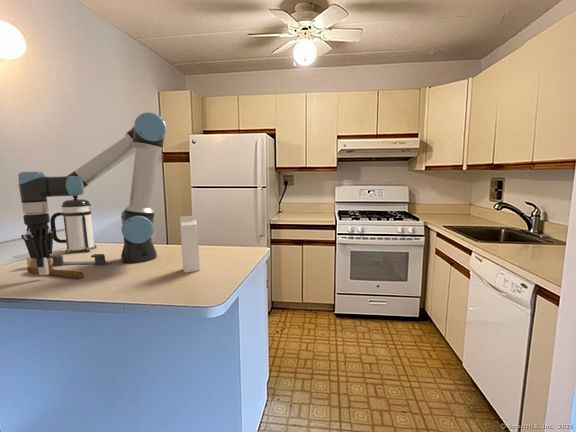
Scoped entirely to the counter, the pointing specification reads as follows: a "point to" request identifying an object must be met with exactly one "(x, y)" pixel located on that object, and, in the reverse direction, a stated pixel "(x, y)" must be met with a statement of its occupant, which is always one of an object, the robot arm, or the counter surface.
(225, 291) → the counter surface
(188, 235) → the milk
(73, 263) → the board
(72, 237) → the coffee press
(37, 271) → the tap handle
